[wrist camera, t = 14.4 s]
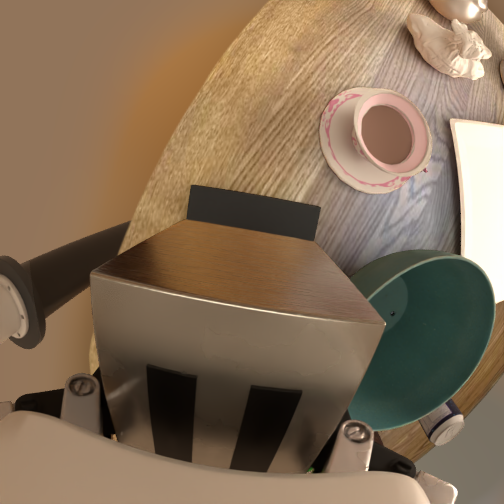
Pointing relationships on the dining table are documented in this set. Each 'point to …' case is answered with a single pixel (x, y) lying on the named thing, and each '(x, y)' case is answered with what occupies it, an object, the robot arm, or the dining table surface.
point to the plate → (481, 196)
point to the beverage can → (443, 423)
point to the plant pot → (422, 333)
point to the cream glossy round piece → (461, 9)
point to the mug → (502, 70)
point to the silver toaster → (230, 346)
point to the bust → (448, 46)
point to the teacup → (374, 139)
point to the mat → (253, 212)
